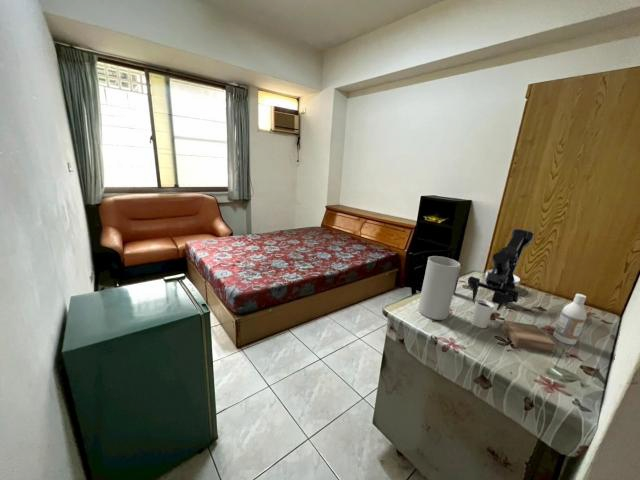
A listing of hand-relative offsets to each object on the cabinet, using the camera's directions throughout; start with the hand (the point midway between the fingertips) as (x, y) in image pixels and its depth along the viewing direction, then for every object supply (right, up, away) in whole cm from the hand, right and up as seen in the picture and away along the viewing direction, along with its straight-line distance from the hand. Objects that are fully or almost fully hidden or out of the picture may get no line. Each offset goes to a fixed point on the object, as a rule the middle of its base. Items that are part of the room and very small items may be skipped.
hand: (484, 305), depth 110 cm
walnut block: (+11, -12, -7) cm, 18 cm away
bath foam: (+29, -13, -5) cm, 32 cm away
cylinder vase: (-19, -6, +8) cm, 21 cm away
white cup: (-1, -9, +2) cm, 9 cm away
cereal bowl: (+36, 0, +43) cm, 56 cm away
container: (0, -1, +29) cm, 29 cm away
